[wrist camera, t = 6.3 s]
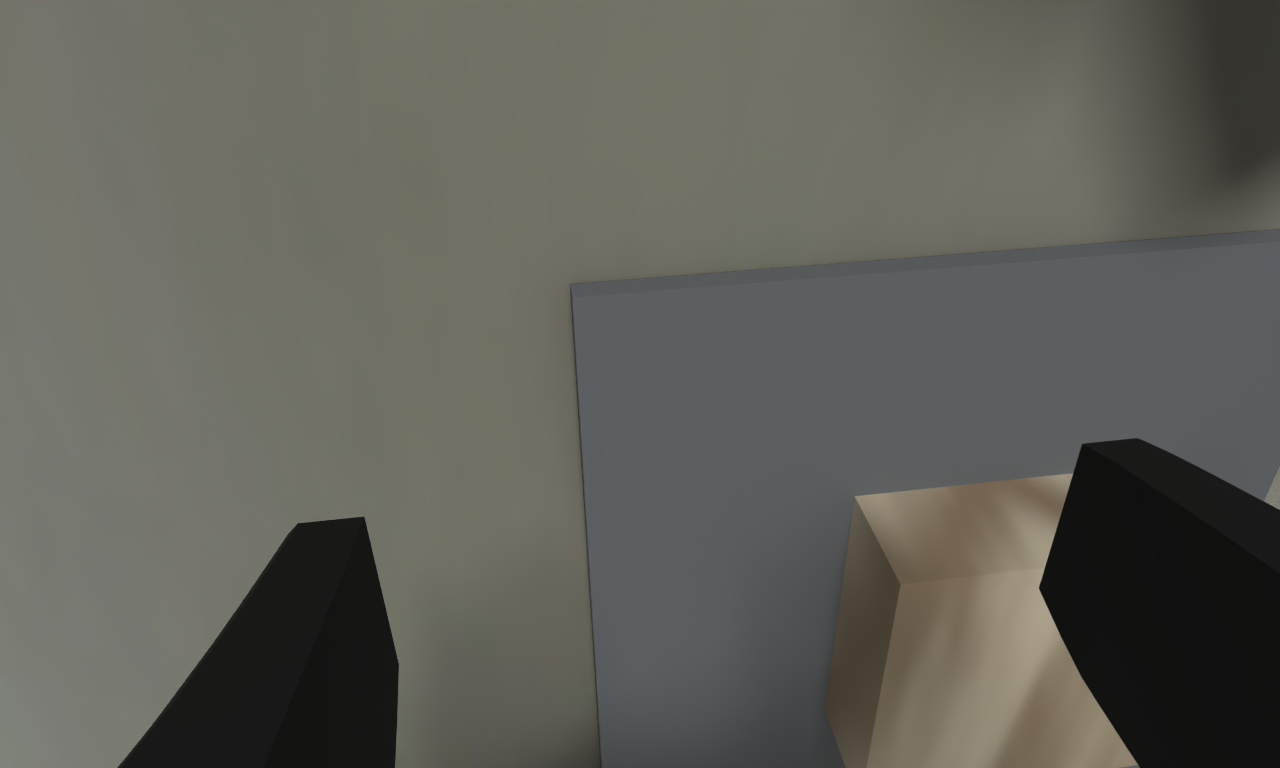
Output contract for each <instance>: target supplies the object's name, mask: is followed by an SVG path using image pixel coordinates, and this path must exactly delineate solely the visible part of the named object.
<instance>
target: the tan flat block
mask: <svg viewBox="0 0 1280 768" xmlns="http://www.w3.org/2000/svg"><path fill="white" fill-rule="evenodd" d="M1072 476H1073V473H1071V474H1062V475H1052V476H1043V477H1033V478H1024V479H1014V480H1005V481H995V482H986V483H976V484H967V485H957V486H948V487H938V488H929V489H919V490H910V491H900V492H891V493H881V494H872V495H862V496H855V498H854V505H853V512H852V519H851V526H850V533H849V540H848V547H847V555H846V562H845V569H844V576H843V583H842V590H841V597H840V604H839V612H838V619H837V626H836V633H835V640H834V647H833V654H832V661H831V669H830V676H829V683H828V690H827V697H826V704H825V712H826V715H827V718H828V721H829V723H830V726H831V729H832V731H833V734H834V737H835V740H836V742H837V745H838V748H839V751H840V753H841V756H842V759H843V761H844V764H845V767H846V768H1120V767H1127V766H1135V765H1138V764H1137V763H1136V761H1135V760H1134V758H1133V757H1132V755H1131V754H1130V752H1129V751H1128V749H1127V747H1126V746H1125V744H1124V743H1123V741H1122V740H1121V738H1120V737H1119V735H1118V734H1117V732H1116V730H1115V729H1114V727H1113V726H1112V724H1111V723H1110V721H1109V720H1108V718H1107V717H1106V715H1105V714H1104V712H1103V710H1102V709H1101V707H1100V706H1099V704H1098V703H1097V701H1096V700H1095V698H1094V696H1093V695H1092V693H1091V692H1090V690H1089V688H1088V687H1087V685H1086V684H1085V682H1084V680H1083V679H1082V677H1081V676H1080V674H1079V672H1078V670H1077V668H1076V666H1075V664H1074V662H1073V660H1072V658H1071V656H1070V654H1069V652H1068V650H1067V648H1066V646H1065V644H1064V642H1063V640H1062V638H1061V636H1060V634H1059V632H1058V629H1057V627H1056V625H1055V623H1054V621H1053V618H1052V616H1051V614H1050V612H1049V610H1048V608H1047V605H1046V603H1045V601H1044V599H1043V597H1042V594H1041V592H1040V590H1039V586H1040V582H1041V579H1042V576H1043V572H1044V569H1045V566H1046V562H1047V559H1048V556H1049V552H1050V549H1051V546H1052V542H1053V539H1054V536H1055V532H1056V529H1057V526H1058V522H1059V519H1060V516H1061V512H1062V509H1063V506H1064V502H1065V499H1066V496H1067V492H1068V489H1069V486H1070V482H1071V479H1072Z"/></svg>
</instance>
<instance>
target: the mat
mask: <svg viewBox="0 0 1280 768" xmlns="http://www.w3.org/2000/svg"><path fill="white" fill-rule="evenodd" d="M570 290H571V306H572V322H573V337H574V353H575V368H576V384H577V400H578V415H579V431H580V446H581V462H582V478H583V493H584V509H585V524H586V540H587V556H588V571H589V587H590V602H591V618H592V634H593V649H594V665H595V680H596V696H597V712H598V727H599V743H600V758H601V768H846V767H845V764H844V761H843V759H842V756H841V753H840V751H839V748H838V745H837V742H836V740H835V737H834V734H833V731H832V729H831V726H830V723H829V721H828V718H827V715H826V712H825V704H826V697H827V690H828V683H829V676H830V669H831V661H832V654H833V647H834V640H835V633H836V626H837V619H838V612H839V604H840V597H841V590H842V583H843V576H844V569H845V562H846V555H847V547H848V540H849V533H850V526H851V519H852V512H853V505H854V498H855V496H862V495H872V494H881V493H891V492H900V491H910V490H919V489H929V488H938V487H948V486H957V485H967V484H976V483H986V482H995V481H1005V480H1014V479H1024V478H1033V477H1043V476H1052V475H1062V474H1071V473H1073V472H1074V469H1075V466H1076V462H1077V459H1078V456H1079V452H1080V449H1081V446H1082V444H1084V443H1093V442H1103V441H1113V440H1123V439H1133V438H1139V439H1141V440H1144V441H1146V442H1148V443H1150V444H1152V445H1155V446H1157V447H1159V448H1161V449H1163V450H1165V451H1167V452H1170V453H1172V454H1174V455H1176V456H1178V457H1180V458H1182V459H1184V460H1186V461H1188V462H1190V463H1192V464H1194V465H1196V466H1198V467H1199V468H1201V469H1203V470H1205V471H1207V472H1209V473H1211V474H1213V475H1215V476H1217V477H1219V478H1221V479H1222V480H1224V481H1226V482H1228V483H1230V484H1232V485H1234V486H1236V487H1238V488H1239V489H1241V490H1243V491H1245V492H1247V493H1249V494H1251V495H1253V496H1254V497H1256V498H1258V499H1260V500H1262V501H1264V499H1265V497H1266V495H1267V493H1268V490H1269V488H1270V486H1271V484H1272V482H1273V479H1274V477H1275V475H1276V473H1277V470H1278V468H1279V466H1280V229H1278V230H1265V231H1252V232H1239V233H1226V234H1213V235H1200V236H1187V237H1174V238H1161V239H1148V240H1135V241H1123V242H1110V243H1097V244H1084V245H1071V246H1058V247H1045V248H1032V249H1019V250H1006V251H993V252H980V253H967V254H954V255H941V256H928V257H915V258H903V259H890V260H877V261H864V262H851V263H838V264H825V265H812V266H799V267H786V268H773V269H760V270H747V271H734V272H721V273H708V274H696V275H683V276H670V277H657V278H644V279H631V280H618V281H605V282H592V283H579V284H570ZM1120 768H1140V767H1139V766H1138V765H1135V766H1127V767H1120Z"/></svg>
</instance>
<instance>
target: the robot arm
mask: <svg viewBox="0 0 1280 768" xmlns="http://www.w3.org/2000/svg"><path fill="white" fill-rule="evenodd" d="M1039 590H1040V592H1041V594H1042V597H1043V599H1044V601H1045V603H1046V605H1047V608H1048V610H1049V612H1050V614H1051V616H1052V618H1053V621H1054V623H1055V625H1056V627H1057V629H1058V632H1059V634H1060V636H1061V638H1062V640H1063V642H1064V644H1065V646H1066V648H1067V650H1068V652H1069V654H1070V656H1071V658H1072V660H1073V662H1074V664H1075V666H1076V668H1077V670H1078V672H1079V674H1080V676H1081V677H1082V679H1083V680H1084V682H1085V684H1086V685H1087V687H1088V688H1089V690H1090V692H1091V693H1092V695H1093V696H1094V698H1095V700H1096V701H1097V703H1098V704H1099V706H1100V707H1101V709H1102V710H1103V712H1104V714H1105V715H1106V717H1107V718H1108V720H1109V721H1110V723H1111V724H1112V726H1113V727H1114V729H1115V730H1116V732H1117V734H1118V735H1119V737H1120V738H1121V740H1122V741H1123V743H1124V744H1125V746H1126V747H1127V749H1128V751H1129V752H1130V754H1131V755H1132V757H1133V758H1134V760H1135V761H1136V763H1137V764H1138V766H1139V767H1140V768H1280V510H1279V509H1277V508H1275V507H1273V506H1271V505H1269V504H1267V503H1266V502H1264V501H1262V500H1260V499H1258V498H1256V497H1254V496H1253V495H1251V494H1249V493H1247V492H1245V491H1243V490H1241V489H1239V488H1238V487H1236V486H1234V485H1232V484H1230V483H1228V482H1226V481H1224V480H1222V479H1221V478H1219V477H1217V476H1215V475H1213V474H1211V473H1209V472H1207V471H1205V470H1203V469H1201V468H1199V467H1198V466H1196V465H1194V464H1192V463H1190V462H1188V461H1186V460H1184V459H1182V458H1180V457H1178V456H1176V455H1174V454H1172V453H1170V452H1167V451H1165V450H1163V449H1161V448H1159V447H1157V446H1155V445H1152V444H1150V443H1148V442H1146V441H1144V440H1141V439H1139V438H1133V439H1123V440H1113V441H1103V442H1093V443H1084V444H1082V446H1081V449H1080V452H1079V456H1078V459H1077V462H1076V466H1075V469H1074V472H1073V476H1072V479H1071V482H1070V486H1069V489H1068V492H1067V496H1066V499H1065V502H1064V506H1063V509H1062V512H1061V516H1060V519H1059V522H1058V526H1057V529H1056V532H1055V536H1054V539H1053V542H1052V546H1051V549H1050V552H1049V556H1048V559H1047V562H1046V566H1045V569H1044V572H1043V576H1042V579H1041V582H1040V586H1039ZM398 673H399V663H398V659H397V655H396V651H395V646H394V642H393V638H392V633H391V629H390V625H389V621H388V616H387V612H386V608H385V603H384V599H383V595H382V591H381V586H380V582H379V578H378V573H377V569H376V565H375V561H374V556H373V552H372V548H371V543H370V539H369V535H368V530H367V526H366V522H365V518H364V517H357V518H347V519H337V520H327V521H317V522H308V523H298V524H297V525H296V526H295V527H294V528H293V530H292V531H291V532H290V533H289V534H288V535H287V537H286V538H285V540H284V541H283V543H282V544H281V546H280V547H279V548H278V550H277V551H276V553H275V554H274V556H273V557H272V559H271V560H270V562H269V563H268V565H267V566H266V568H265V569H264V571H263V572H262V574H261V575H260V577H259V578H258V580H257V581H256V583H255V584H254V585H253V587H252V588H251V590H250V591H249V593H248V594H247V596H246V597H245V599H244V600H243V601H242V603H241V604H240V606H239V607H238V609H237V610H236V611H235V613H234V614H233V616H232V617H231V619H230V620H229V621H228V623H227V624H226V626H225V627H224V629H223V630H222V631H221V633H220V634H219V636H218V637H217V638H216V640H215V641H214V643H213V644H212V645H211V647H210V648H209V649H208V651H207V652H206V654H205V655H204V656H203V658H202V659H201V660H200V662H199V663H198V664H197V666H196V667H195V668H194V670H193V671H192V672H191V674H190V675H189V676H188V678H187V679H186V680H185V682H184V683H183V685H182V686H181V687H180V689H179V690H178V691H177V693H176V694H175V695H174V697H173V698H172V699H171V701H170V702H169V703H168V705H167V706H166V707H165V709H164V710H163V711H162V713H161V714H160V715H159V717H158V718H157V719H156V721H155V722H154V723H153V724H152V726H151V727H150V728H149V730H148V731H147V732H146V733H145V735H144V736H143V737H142V738H141V740H140V741H139V742H138V743H137V745H136V746H135V747H134V748H133V749H132V751H131V752H130V753H129V754H128V756H127V757H126V758H125V759H124V761H123V762H122V763H121V764H120V765H119V767H118V768H395V754H396V732H397V705H398Z"/></svg>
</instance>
